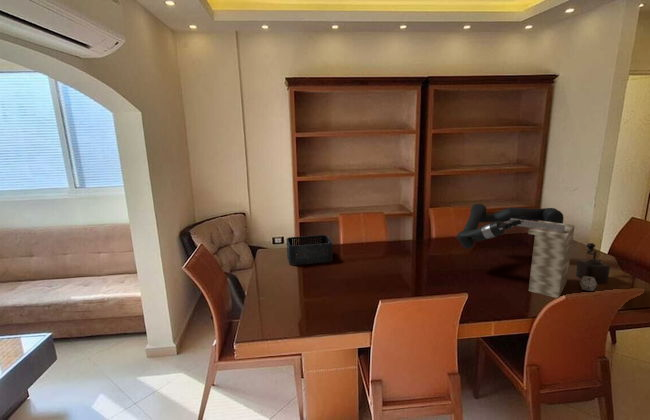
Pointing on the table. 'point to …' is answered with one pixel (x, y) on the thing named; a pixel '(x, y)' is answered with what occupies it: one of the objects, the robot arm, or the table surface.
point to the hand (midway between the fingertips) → (522, 219)
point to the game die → (588, 283)
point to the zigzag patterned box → (550, 260)
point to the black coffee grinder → (593, 267)
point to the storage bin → (309, 250)
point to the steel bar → (540, 225)
